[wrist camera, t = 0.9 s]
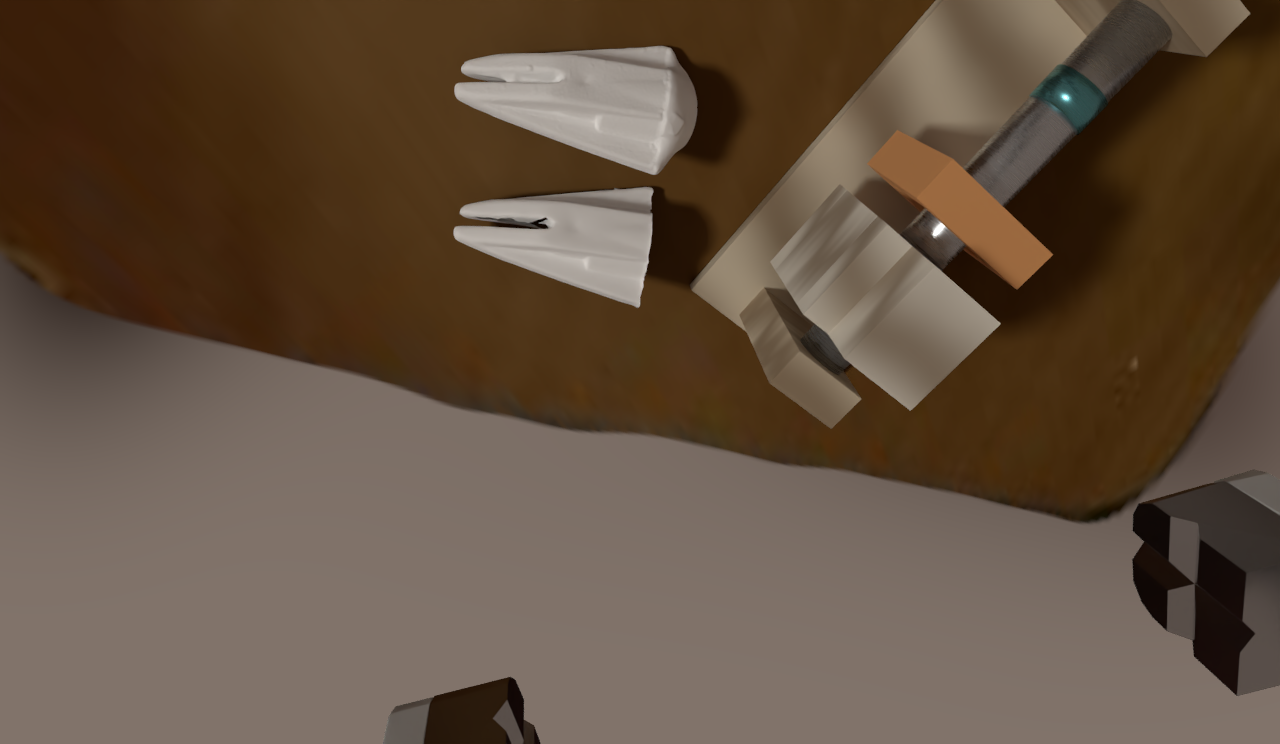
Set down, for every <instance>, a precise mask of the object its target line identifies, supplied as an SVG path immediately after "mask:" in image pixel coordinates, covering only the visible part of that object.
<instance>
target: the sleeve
mask: <svg viewBox="0 0 1280 744" xmlns="http://www.w3.org/2000/svg"><path fill="white" fill-rule="evenodd" d="M770 263H771V264H772V266H773V267H774V269H775V271H776V272H777V274H778V275H779V277H780V278H781V280H782V282H783V283H784V285H785V286H786V288H787V290H788V291H789V293H790V294H791V296H792V297H793V299H794V301H795V302H796V304H797V305H798V307H799V309H800V310H801V312H802V313H803V315H804V316H806V317H807V318H808V319H810V320H811V321H812V322H813V323H815V324H816V325H817V326H818V327H820V328H821V329H822V330H823V331H825V332H826V333H827V334H828V335H829V336H830V338H831V339H832V341H833V342H834V344H835V345H836V347H837V348H838V350H839V351H840V353H841V355H842V356H843V358H844V359H845V360H847V361H848V362H849V363H850V364H852V365H853V366H854V367H855V368H857V369H858V370H859V371H861V372H862V373H863V374H864V375H866V376H867V377H868V378H869V379H871V380H872V381H873V382H875V383H876V384H877V385H878V386H880V387H881V388H882V389H883V390H885V391H886V392H887V393H889V394H890V395H891V396H892V397H894V398H895V399H896V400H897V401H899V402H900V403H901V404H903V405H904V406H905V407H906V408H908V409H909V410H910V411H911V410H912V409H913V408H914V407H915V406H916V405H917V404H918V403H919V402H920V401H921V400H922V399H923V398H924V397H925V396H926V395H927V394H928V393H929V392H930V391H931V390H933V389H934V388H935V387H936V386H937V385H938V384H939V383H940V382H941V381H942V380H943V379H944V378H945V377H946V376H947V375H948V374H949V373H950V372H951V371H952V370H953V369H954V368H955V367H956V366H958V365H959V364H960V363H961V362H962V361H963V360H964V359H965V358H966V357H967V356H968V355H969V354H970V353H971V352H972V351H973V350H974V349H975V348H976V347H977V346H978V345H979V344H980V343H982V342H983V341H984V340H985V339H986V338H987V337H988V336H989V335H990V334H991V333H992V332H993V331H994V330H995V329H996V328H997V327H998V326H999V325H1000V324H1001V323H1000V322H998V321H997V320H996V319H995V318H994V317H993V316H992V315H990V314H989V313H988V312H987V311H986V310H985V309H984V308H983V307H981V306H980V305H979V304H978V303H977V302H976V301H975V300H973V299H972V298H971V297H970V296H969V295H968V294H967V293H966V292H964V291H963V290H962V289H961V288H960V287H959V286H958V285H957V284H955V283H954V282H953V281H952V280H951V279H950V278H949V277H947V276H946V275H945V274H944V273H943V272H942V271H941V270H940V269H938V268H937V267H936V266H935V265H934V264H933V263H931V262H930V261H929V260H928V259H927V258H926V257H924V256H923V255H922V254H921V253H920V252H919V251H917V250H916V249H915V248H914V247H913V246H911V245H910V244H909V243H908V242H907V241H906V240H905V239H904V238H902V237H901V236H900V235H899V234H898V233H897V232H896V231H895V230H893V229H892V228H891V227H890V226H889V225H888V224H887V223H885V222H884V221H883V220H882V219H881V218H879V217H878V216H877V215H876V214H875V213H874V212H872V211H871V210H870V209H869V208H868V207H866V206H865V205H864V204H863V203H862V202H861V201H859V200H858V199H857V198H856V197H855V196H853V195H852V194H851V193H850V192H849V191H848V190H846V189H845V188H844V187H843V186H842V185H840V184H839V185H838V187H837V188H836V189H835V190H834V191H833V192H832V193H831V194H830V195H829V197H828V198H827V199H826V200H825V201H824V202H823V203H822V204H821V206H820V207H819V208H818V209H817V210H816V211H815V212H814V213H813V214H812V216H811V217H810V218H809V219H808V220H807V221H806V222H805V223H804V225H803V226H802V227H801V228H800V229H799V230H798V231H797V232H796V233H795V235H794V236H793V237H792V238H791V239H790V240H789V241H788V242H787V244H786V245H785V246H784V247H783V248H782V249H781V250H780V251H779V252H778V254H777V255H776V256H775V257H774V258H773V259H772V260H771V261H770Z"/></svg>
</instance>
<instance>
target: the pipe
mask: <svg viewBox="0 0 1280 744" xmlns="http://www.w3.org/2000/svg"><path fill="white" fill-rule="evenodd" d="M1171 37H1172V32H1171V29H1170V27H1169V26H1168V24H1167V23H1166V22H1165V20H1164V19H1163V18H1162V17H1161V16H1160V15H1159V14H1158V13H1156V12H1155V11H1154V10H1153V9H1151V8H1150V7H1148V6H1147V5H1145V4H1143V3H1141V2H1139V1H1137V0H1121V1H1120V2H1119V3H1118V4H1117V5H1116V6H1115V7H1114V8H1113V9H1112V10H1111V11H1110V13H1109V14H1108V15H1107V16H1106V17H1105V18H1104V19H1103V20H1102V21H1101V22H1100V23H1099V24H1098V25H1097V26H1096V27H1095V28H1094V29H1093V30H1092V32H1091V33H1090V34H1089V35H1088V36H1087V37H1086V38H1085V39H1084V40H1083V41H1082V42H1081V43H1080V44H1079V45H1078V46H1077V47H1076V48H1075V50H1074V51H1073V52H1072V53H1071V54H1070V55H1069V56H1068V57H1067V58H1066V59H1065V60H1064V61H1063V62H1062V63H1061V64H1058V65H1057V66H1056V67H1055V68H1054V69H1053V70H1052V71H1051V72H1050V73H1049V75H1048V76H1047V77H1046V78H1045V79H1044V80H1043V81H1042V82H1041V83H1040V84H1039V85H1038V86H1037V87H1036V88H1035V89H1034V90H1033V91H1032V93H1031V94H1030V95H1029V98H1028V99H1027V100H1026V101H1025V102H1024V103H1023V104H1022V106H1021V107H1020V108H1019V109H1018V110H1017V111H1016V112H1015V113H1014V114H1013V115H1012V116H1011V117H1010V118H1009V119H1008V120H1007V121H1006V122H1005V123H1004V125H1003V126H1002V127H1001V128H1000V129H999V130H998V131H997V132H996V133H995V134H994V135H993V136H992V137H991V138H990V139H989V140H988V141H987V142H986V144H985V145H984V146H983V147H982V148H981V149H980V150H979V151H978V152H977V153H976V154H975V155H974V156H973V157H972V158H971V159H970V160H969V162H968V163H967V164H966V165H965V166H964V167H963V169H964V170H965V171H966V172H967V173H968V174H969V175H970V176H972V177H973V178H974V179H975V180H976V181H977V182H978V183H979V184H980V185H981V186H982V187H983V188H984V189H985V190H986V191H987V192H988V193H989V194H990V195H991V196H992V197H993V198H994V199H996V200H997V201H998V202H999V203H1000V204H1001V205H1002V206H1003V207H1005V206H1006V205H1007V204H1008V203H1009V202H1010V201H1011V200H1012V199H1013V198H1014V197H1015V196H1016V195H1017V194H1018V193H1019V192H1020V191H1021V190H1022V189H1023V188H1024V187H1025V186H1026V185H1027V184H1028V183H1029V182H1030V181H1031V180H1032V179H1033V178H1034V177H1035V176H1036V175H1037V174H1038V173H1039V172H1040V171H1041V170H1042V169H1043V168H1044V167H1045V166H1046V165H1047V164H1048V163H1049V162H1050V161H1051V160H1052V159H1053V158H1054V157H1055V156H1056V155H1057V153H1058V152H1059V151H1060V150H1061V149H1062V148H1063V147H1064V146H1065V145H1066V144H1067V143H1068V142H1069V141H1070V140H1071V139H1072V138H1073V137H1074V136H1075V135H1079V134H1080V133H1081V132H1082V131H1083V130H1084V128H1085V127H1086V126H1087V125H1088V124H1089V123H1090V122H1091V121H1092V120H1093V119H1094V118H1095V117H1096V116H1097V115H1098V114H1099V113H1100V112H1101V111H1102V110H1103V109H1104V108H1105V107H1106V106H1107V105H1108V102H1109V101H1110V100H1111V99H1112V98H1113V97H1114V96H1115V95H1116V94H1117V93H1118V92H1119V91H1120V90H1121V89H1122V87H1123V86H1124V85H1125V84H1126V83H1127V82H1128V81H1129V80H1130V79H1131V78H1132V77H1133V76H1134V75H1135V74H1136V73H1137V72H1138V71H1139V70H1140V69H1141V68H1142V67H1143V66H1144V65H1145V64H1146V63H1147V62H1148V61H1149V60H1150V59H1151V58H1152V57H1153V56H1154V55H1155V54H1156V53H1157V52H1158V51H1159V50H1160V49H1161V48H1162V47H1163V46H1164V45H1165V44H1166V43H1167V42H1168V41H1169V40H1170V39H1171ZM899 235H900V236H901V237H902V238H904V239H905V240H906V241H907V242H908V243H909V244H910V245H911V246H913V247H914V248H915V249H916V250H917V251H919V252H920V253H921V254H922V255H923V256H924V257H926V258H927V259H928V260H929V261H930V262H931V263H933V264H934V265H935V266H936V267H937V268H938V269H940V270H941V271H942V270H943V269H944V268H945V267H946V266H947V265H948V264H949V263H950V262H951V261H952V260H953V259H954V258H955V257H956V256H957V255H958V254H959V253H960V252H961V251H962V250H963V249H964V248H965V247H966V245H965V244H964V243H963V242H962V241H961V240H960V239H959V238H958V237H957V236H955V235H954V234H953V233H952V232H951V231H950V230H949V229H948V228H947V227H946V226H944V225H943V224H942V223H941V222H940V221H939V220H938V219H937V218H936V217H935V216H933V215H932V214H931V213H930V212H929V211H928V210H927V209H926V208H924V209H923V210H922V211H921V212H920V213H919V214H918V215H917V216H916V218H915V219H914V220H913V221H912V222H911V223H910V224H909V225H908V226H907V227H906V228H905V229H904V230H903V231H902V232H901V233H900V234H899ZM800 341H801V343H802V344H803V346H804V347H805V348H806V349H807V351H808V352H809V353H810V354H811V355H812V356H813V357H814V358H815V359H816V360H818V361H819V362H820V363H821V364H822V365H823V366H824V367H826V368H827V369H828V370H830V371H831V372H833V373H834V374H836V375H840V374H841V373H842V372H843V371H844V370H845V369H846V368H847V367H848V366H849V365H850V363H849V362H848V361H847V360H845V359H844V358H843V356H842V355H841V353H840V351H839V350H838V348H837V347H836V345H835V344H834V342H833V341H832V339H831V338H830V336H829V335H828V334H827V333H826V332H825V331H823V330H822V329H821V328H820V327H818V326H817V325H816V324H814V325H813V326H812V327H811V328H810V330H809V331H808V332H807V333H806V334H805V335H804V336H803V337H802V338H801V339H800Z"/></svg>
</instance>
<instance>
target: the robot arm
mask: <svg viewBox="0 0 1280 744" xmlns="http://www.w3.org/2000/svg"><path fill="white" fill-rule="evenodd" d="M1133 532H1135V534H1136V535H1138V536H1139V537H1140V538H1141V539H1142V540H1143V541H1144V543H1143V544H1142V546H1141V547H1140V549H1139V550H1138V552H1137V553H1136V555H1135V556H1134V558H1133V559H1132V561H1133V581H1134V584H1135V587H1136V589H1137V592H1138V594H1139V596H1140V599H1141V602H1142V603H1143V605H1144V606H1145V607H1146V609H1147V610H1148V612H1149V613H1150V614H1151V616H1152V617H1153V618H1154V619H1155V620H1156V621H1157V622H1158V623H1159V624H1160V625H1161V626H1162V627H1163V628H1164V629H1165V630H1166V631H1168V632H1171V633H1174V634H1177V635H1179V636H1182V637H1185V638H1188V639H1190V640H1192V641H1193V651H1194V657H1195V658H1196V659H1198V661H1200V662H1201V663H1202V664H1203V665H1204V666H1205V667H1206V668H1207V669H1208V670H1209V671H1210V672H1211V673H1213V674H1214V675H1215V676H1216V677H1217V678H1218V679H1219V680H1220V681H1221V682H1222V683H1223V684H1224V685H1226V686H1227V687H1228V688H1229V689H1230V690H1231V691H1232V692H1233V693H1234V694H1235V695H1236V696H1239V695H1243V694H1247V693H1251V692H1255V691H1259V690H1263V689H1267V688H1271V687H1275V686H1279V685H1280V480H1279V479H1278V478H1276V477H1274V476H1273V475H1271V474H1269V473H1266V472H1262V471H1257V470H1251V471H1247V472H1244V473H1241V474H1237V475H1234V476H1231V477H1228V478H1224V479H1220V480H1217V481H1215V482H1214V483H1210V484H1206V485H1202V486H1199V487H1196V488H1192V489H1188V490H1185V491H1181V492H1178V493H1174V494H1171V495H1167V496H1164V497H1160V498H1157V499H1153V500H1150V501H1146V502H1143V503H1139V504H1138V506H1137V508H1136V510H1135V512H1134V514H1133ZM383 744H540V740H539V737H538V735H537V733H536V730H535V727H534V725H532V724H530V723H529V722H527V721H525V720H524V699H523V696H522V694H521V692H520V689H519V687H518V685H517V683H516V680H515V679H513V678H511V677H508V678H504V679H500V680H496V681H492V682H488V683H484V684H480V685H476V686H473V687H468V688H464V689H460V690H456V691H452V692H448V693H444V694H440V695H437V696H434V698H427V699H424V700H420V701H416V702H412V703H408V704H404V705H400V706H396V707H395V708H394V710H393V711H392V712H391V714H390V716H389V718H388V722H387V727H386V731H385V736H384V741H383Z"/></svg>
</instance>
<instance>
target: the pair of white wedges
mask: <svg viewBox="0 0 1280 744" xmlns="http://www.w3.org/2000/svg"><path fill="white" fill-rule="evenodd" d="M461 71H462V73H463V74H465V75H467V76H469V77H472V78H476V79H480V80H485V81H490V82H467V83H457V84H456V85H455V90H454V91H455V96H456V98H457V99H458V100H459V101H461V102H463V103H465V104H467V105H469V106H471V107H473V108H475V109H477V110H480V111H483V112H485V113H487V114H490V115H492V116H494V117H496V118H499V119H501V120H504V121H506V122H509V123H512V124H514V125H517V126H520V127H522V128H525V129H527V130H530V131H533V132H535V133H538V134H541V135H543V136H546V137H548V138H551V139H554V140H557V141H559V142H562V143H564V144H567V145H570V146H573V147H575V148H578V149H581V150H583V151H587V152H589V153H592V154H594V155H598V156H600V157H603V158H606V159H609V160H612V161H615V162H617V163H620V164H623V165H626V166H629V167H632V168H635V169H637V170H641V171H643V172H646V173H649V174H652V175H656V174H658V173H659V172H661V170H662V169H663V168H664V167H665V165H666V164H667V162H668V161H669V160H670V158H671V157H672V156H673V155H674V154H675V153H676V152H677V151H679V150H681V149H682V148H683V147H684V146H685V145H686V144H687V142H688V141H689V139H690V137H691V135H692V133H693V130H694V127H695V123H696V118H697V111H698V110H697V97H696V91H695V89H694V86H693V84H692V82H691V80H690V78H689V76H688V74H687V73H686V71H685V70H684V69H683V68H682V66H681V65H680V64H679V62H678V60H677V58H676V55H675V53H674V51H673V50H672V49H671V48H669V47H666V46H655V47H644V48H625V49H601V50H583V51H567V52H553V53H512V54H497V55H490V56H485V57H481V58H476V59H472V60H469V61H466V62H465V63H464V64H463V65H462V67H461ZM652 189H653V188H650V187H641V188H631V189H628V188H627V189H614V190H603V191H602V190H599V191H589V192H578V193H565V194H554V195H545V196H533V197H522V198H511V199H494V200H487V201H481V202H476V203H472V204H468V205H465V206H463V207H462V208H461V210H460V214H461V215H462V216H464V217H466V218H470V219H477V220H484V221H491V222H499V223H507V224H514V225H521V226H527V227H535V228H539V227H538V226H536V225H533V224H531V223H530V222H533V221H537V220H540V219H542V218H545V217H546V218H547V219H548V220H544V221H543V222H539V224H546V225H547V227H548V229H547V228H546V229H543V228H539V229H527V228H525V229H524V228H506V227H488V226H456V227H455V228H454V237H455V239H456V240H458V241H459V242H461V243H463V244H466V245H468V246H470V247H472V248H474V249H477V250H479V251H482V252H484V253H486V254H489V255H491V256H493V257H496V258H498V259H501V260H503V261H506V262H509V263H512V264H514V265H517V266H520V267H523V268H525V269H528V270H531V271H534V272H536V273H539V274H542V275H545V276H547V277H550V278H553V279H556V280H558V281H561V282H564V283H567V284H570V285H573V286H576V287H579V288H582V289H585V290H588V291H591V292H594V293H597V294H600V295H603V296H605V297H608V298H611V299H614V300H617V301H619V302H624V303H627V304H630V305H633V306H636V307H637V308H638V307H640V296H641V292H642V289H643V281H644V276H645V273H646V271H647V264H648V263H649V260H648V254H649V251H650V246H651V236H652V224H653V223H652V213H650V212H651V211H650V210H651V209H652V207H651V205H652V203H651V196H652V195H653V192H654V191H653V190H652Z"/></svg>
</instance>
